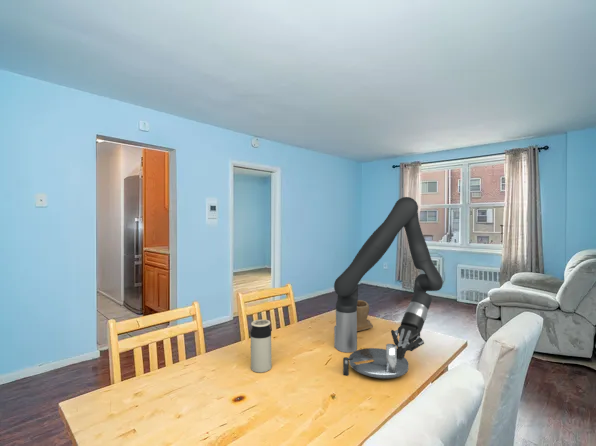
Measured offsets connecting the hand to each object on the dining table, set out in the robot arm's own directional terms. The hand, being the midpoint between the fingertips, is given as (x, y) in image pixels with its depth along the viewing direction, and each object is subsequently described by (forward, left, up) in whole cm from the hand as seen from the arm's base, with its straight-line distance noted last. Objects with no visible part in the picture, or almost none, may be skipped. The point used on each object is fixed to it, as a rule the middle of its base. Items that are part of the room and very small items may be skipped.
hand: (398, 358), depth 114 cm
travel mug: (-41, -32, -8) cm, 52 cm away
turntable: (-10, +1, -6) cm, 11 cm away
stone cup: (-42, +31, -8) cm, 53 cm away
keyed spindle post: (-10, -2, -8) cm, 13 cm away
